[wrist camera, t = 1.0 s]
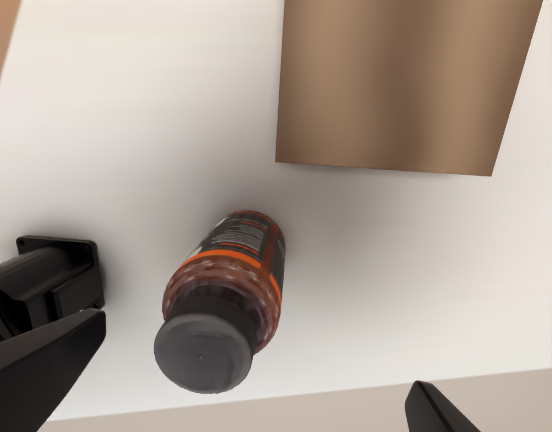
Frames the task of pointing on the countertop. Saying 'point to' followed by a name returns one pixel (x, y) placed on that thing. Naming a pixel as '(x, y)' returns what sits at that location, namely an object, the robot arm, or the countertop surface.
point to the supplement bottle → (222, 305)
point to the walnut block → (400, 82)
